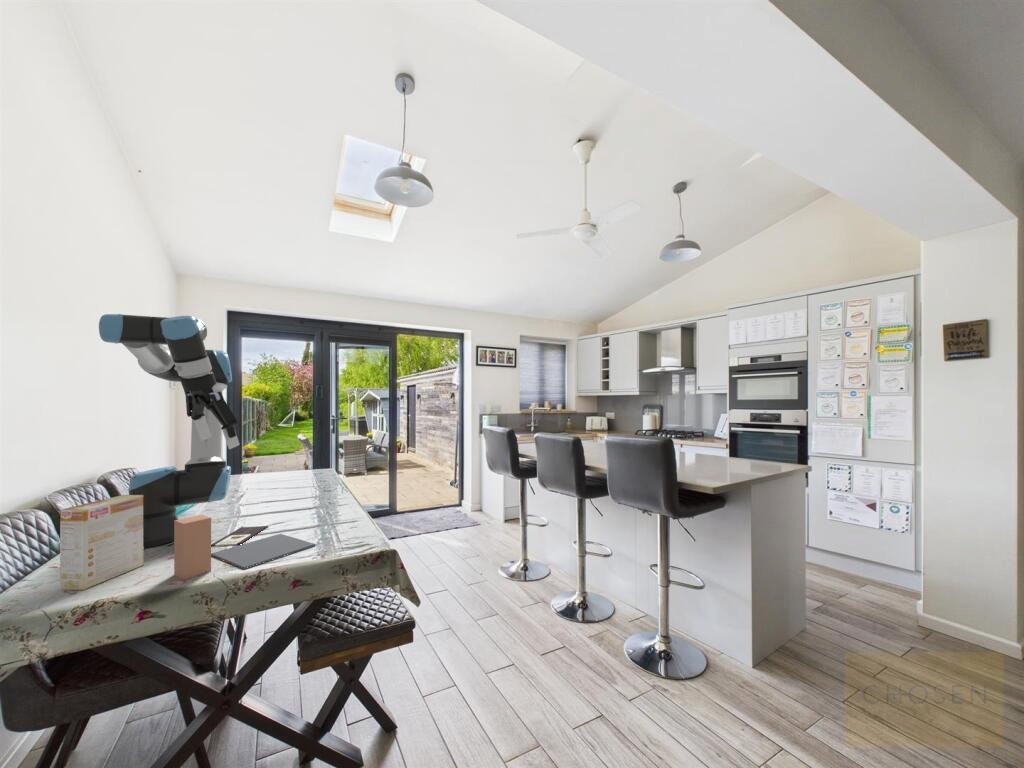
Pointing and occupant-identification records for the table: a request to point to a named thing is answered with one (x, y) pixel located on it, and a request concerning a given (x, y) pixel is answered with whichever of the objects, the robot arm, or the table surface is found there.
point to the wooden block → (192, 546)
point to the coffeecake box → (100, 541)
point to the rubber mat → (262, 550)
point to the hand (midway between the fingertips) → (220, 442)
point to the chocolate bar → (239, 536)
